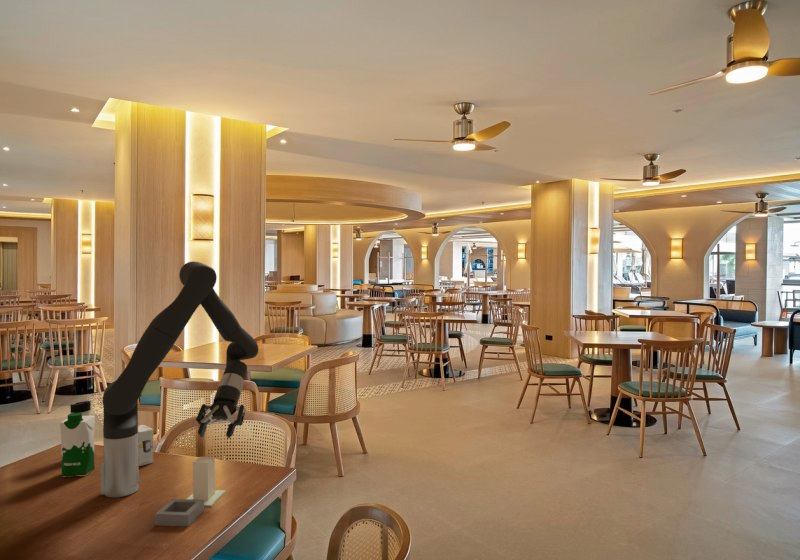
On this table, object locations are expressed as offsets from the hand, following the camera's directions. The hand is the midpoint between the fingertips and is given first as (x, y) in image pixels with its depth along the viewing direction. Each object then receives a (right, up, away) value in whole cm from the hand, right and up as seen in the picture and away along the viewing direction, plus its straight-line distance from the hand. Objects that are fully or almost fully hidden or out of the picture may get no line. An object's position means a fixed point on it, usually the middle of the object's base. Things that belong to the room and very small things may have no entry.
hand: (214, 436), depth 160 cm
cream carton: (0, -16, -7) cm, 17 cm away
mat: (0, -16, -7) cm, 18 cm away
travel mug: (-57, -16, +27) cm, 65 cm away
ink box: (-33, -16, +22) cm, 43 cm away
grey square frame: (-2, -16, -19) cm, 25 cm away
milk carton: (-49, -16, +13) cm, 53 cm away
